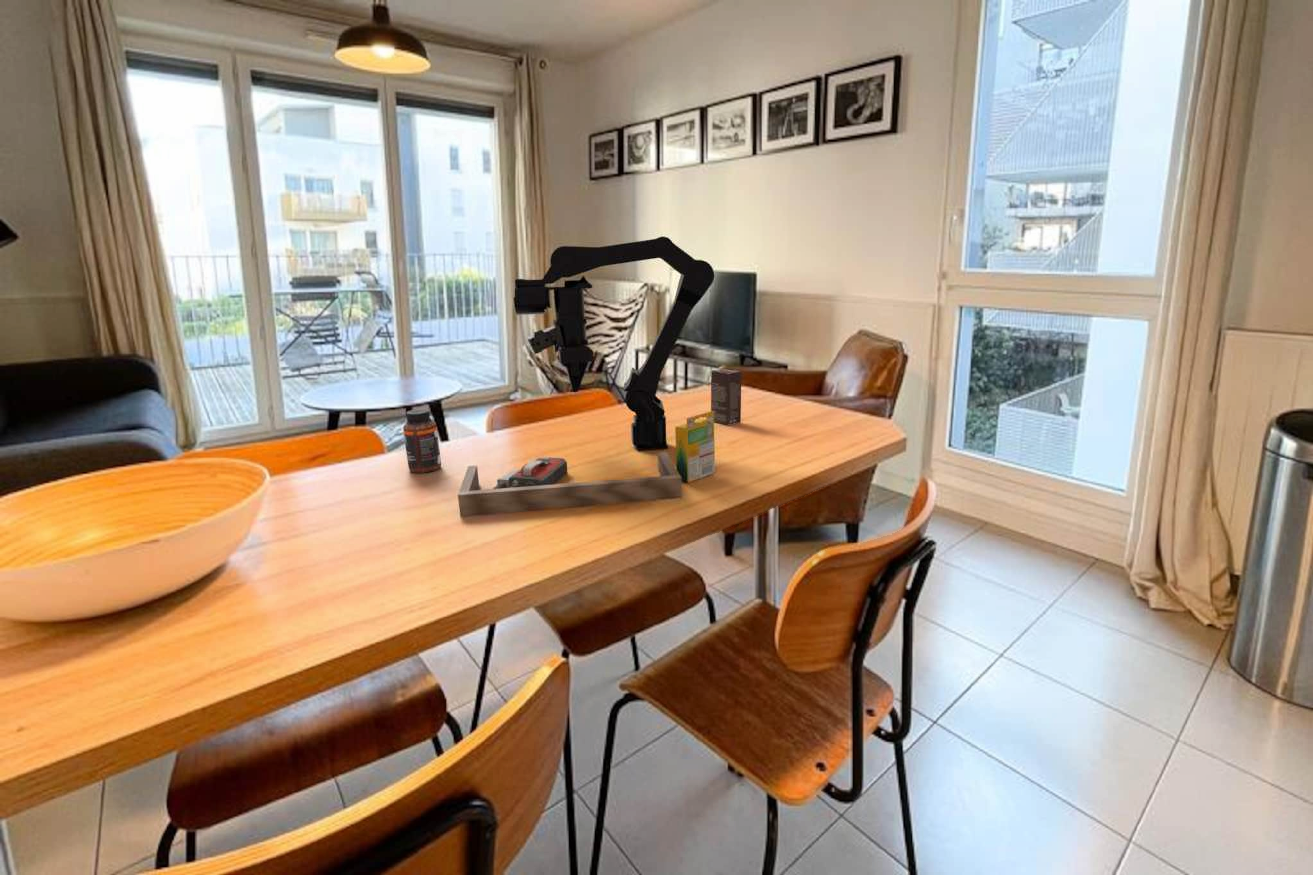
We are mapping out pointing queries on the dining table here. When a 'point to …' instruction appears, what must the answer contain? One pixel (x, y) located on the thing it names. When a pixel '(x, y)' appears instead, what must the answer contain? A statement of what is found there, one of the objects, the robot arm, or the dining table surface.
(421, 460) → the supplement bottle
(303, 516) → the dining table surface
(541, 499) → the brown shallow tray
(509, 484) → the walkie-talkie
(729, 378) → the box
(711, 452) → the crayon box
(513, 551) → the dining table surface
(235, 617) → the dining table surface
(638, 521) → the dining table surface
